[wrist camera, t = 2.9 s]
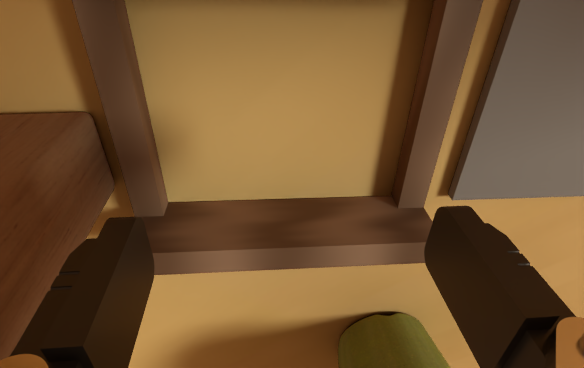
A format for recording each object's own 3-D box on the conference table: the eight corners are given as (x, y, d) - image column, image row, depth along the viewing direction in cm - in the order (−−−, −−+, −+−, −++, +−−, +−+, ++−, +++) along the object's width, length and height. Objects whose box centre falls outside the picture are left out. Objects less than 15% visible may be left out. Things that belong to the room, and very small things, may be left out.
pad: (725, -10, 16) (740, -8, 16) (602, 189, 22) (609, 195, 22) (515, -13, 15) (524, -12, 15) (447, 194, 22) (452, 200, 21)
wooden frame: (482, -56, 14) (549, -55, 11) (410, 214, 22) (437, 262, 19) (67, -67, 13) (4, -69, 10) (146, 223, 21) (125, 276, 18)
